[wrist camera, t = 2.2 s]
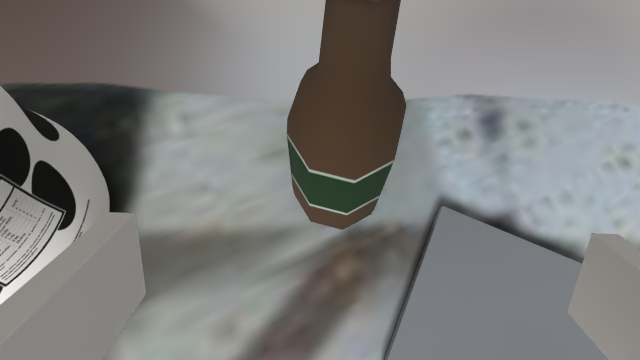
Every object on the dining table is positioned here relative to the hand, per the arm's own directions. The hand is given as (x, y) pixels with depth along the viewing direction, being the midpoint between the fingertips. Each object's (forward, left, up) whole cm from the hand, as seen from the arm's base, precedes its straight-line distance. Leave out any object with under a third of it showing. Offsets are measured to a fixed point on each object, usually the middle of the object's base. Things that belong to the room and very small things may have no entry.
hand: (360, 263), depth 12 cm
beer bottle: (+4, -11, -22) cm, 25 cm away
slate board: (-13, -6, -22) cm, 26 cm away
